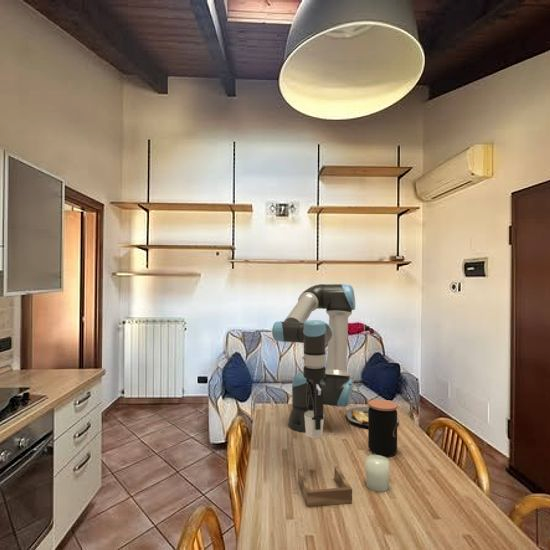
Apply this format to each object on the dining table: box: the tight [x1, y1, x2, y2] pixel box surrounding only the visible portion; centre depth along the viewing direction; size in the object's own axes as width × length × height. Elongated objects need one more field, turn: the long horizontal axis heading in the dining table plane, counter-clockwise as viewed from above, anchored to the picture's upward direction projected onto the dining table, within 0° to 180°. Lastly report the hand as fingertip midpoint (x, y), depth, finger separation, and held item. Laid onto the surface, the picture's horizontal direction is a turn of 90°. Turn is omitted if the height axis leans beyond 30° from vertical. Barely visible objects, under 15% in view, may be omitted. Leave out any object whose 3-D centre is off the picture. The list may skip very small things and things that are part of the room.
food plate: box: [344, 406, 400, 427], centre depth 170 cm, size 25×23×4 cm
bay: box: [297, 465, 353, 508], centre depth 111 cm, size 13×13×4 cm
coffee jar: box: [367, 399, 398, 458], centre depth 139 cm, size 11×11×18 cm
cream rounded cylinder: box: [365, 454, 390, 493], centre depth 115 cm, size 7×7×8 cm
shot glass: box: [304, 411, 325, 439], centre depth 123 cm, size 7×7×7 cm
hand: (314, 433), depth 123 cm, fingers closed on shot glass, 7 cm apart
